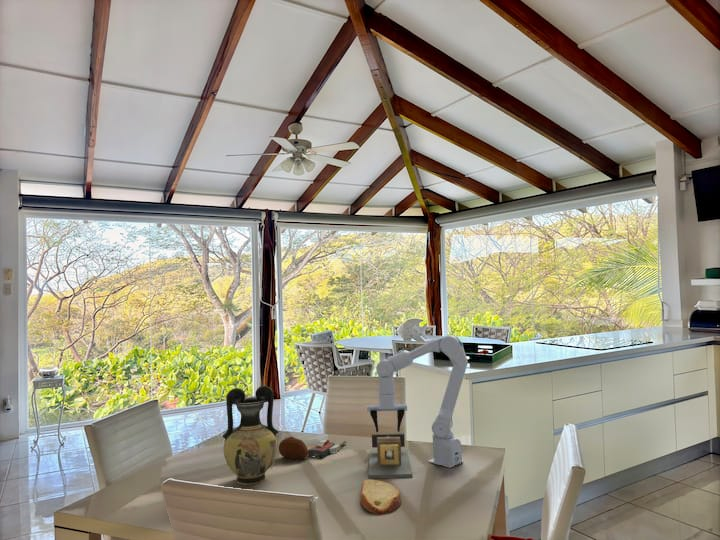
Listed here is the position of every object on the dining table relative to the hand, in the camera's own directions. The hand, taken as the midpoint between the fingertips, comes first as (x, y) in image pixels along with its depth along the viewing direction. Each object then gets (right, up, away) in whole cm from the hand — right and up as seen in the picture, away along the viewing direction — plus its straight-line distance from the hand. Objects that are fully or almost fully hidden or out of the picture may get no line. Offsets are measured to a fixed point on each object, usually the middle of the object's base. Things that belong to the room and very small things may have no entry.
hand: (387, 431), depth 173 cm
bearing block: (0, -9, -8) cm, 12 cm away
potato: (-35, -12, +3) cm, 37 cm away
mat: (0, -9, -8) cm, 12 cm away
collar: (0, -6, -14) cm, 15 cm away
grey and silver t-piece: (0, -6, -6) cm, 9 cm away
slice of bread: (-5, -8, -36) cm, 37 cm away
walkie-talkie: (-23, -12, +12) cm, 28 cm away
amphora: (-45, -10, -18) cm, 50 cm away
